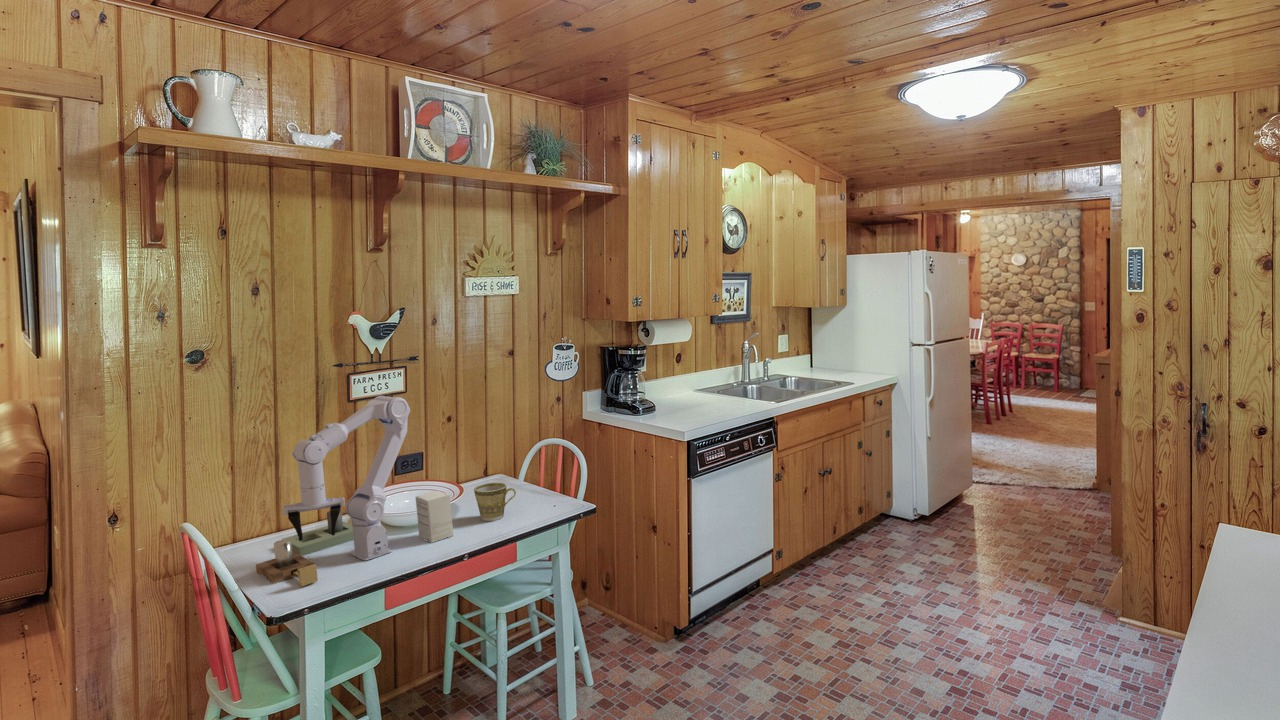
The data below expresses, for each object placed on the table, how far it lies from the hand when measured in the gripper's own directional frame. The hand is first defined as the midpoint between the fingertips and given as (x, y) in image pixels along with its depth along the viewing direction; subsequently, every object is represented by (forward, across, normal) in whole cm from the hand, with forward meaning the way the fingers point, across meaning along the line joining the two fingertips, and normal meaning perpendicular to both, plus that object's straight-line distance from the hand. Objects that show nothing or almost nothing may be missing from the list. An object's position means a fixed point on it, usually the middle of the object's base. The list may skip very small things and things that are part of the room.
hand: (317, 536), depth 184 cm
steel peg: (+9, +8, -4) cm, 13 cm away
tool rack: (+9, 0, -23) cm, 25 cm away
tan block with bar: (+9, +4, +6) cm, 11 cm away
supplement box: (+9, -31, -10) cm, 33 cm away
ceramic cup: (+9, -50, -18) cm, 54 cm away
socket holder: (+9, +8, -4) cm, 13 cm away
